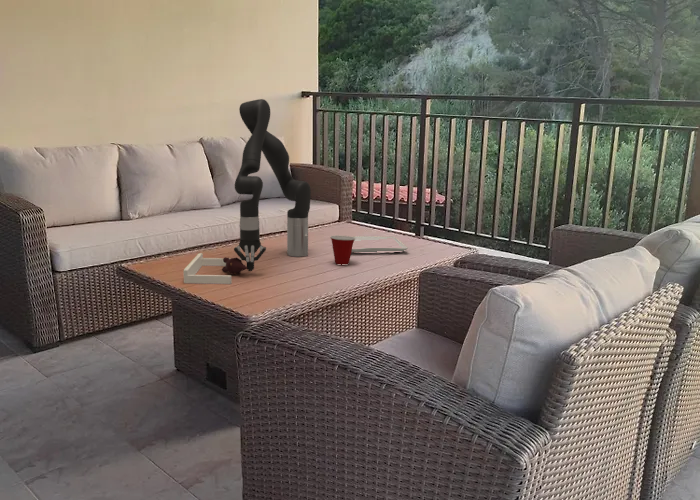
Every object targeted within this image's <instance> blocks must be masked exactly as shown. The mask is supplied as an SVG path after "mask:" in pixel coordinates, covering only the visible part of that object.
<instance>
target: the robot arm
mask: <svg viewBox="0 0 700 500" xmlns="http://www.w3.org/2000/svg"><path fill="white" fill-rule="evenodd" d="M239 115H240V118H241V119H242V122H243V124H244V125H245V126H246V128H247V129H248V131H249V132H250V133H251V135H250V137H249V138H248V140H247V142H246V144H245V146H243V152H242V158H241V166H240V169H239V172H238V173H237V176H236V179H235V180H234V190H235V192H236V193H237V194H239V195H247V196H248V195H252V197H251V198H250V199H246V200H242V201H241V202H240V203H239V213H240V214H239V217H240V218H239V243H238V245H237V246H235V247H234V248H233V251H234V252H235V254H236V255H237V256H238V258H239V259H241V260H242V261H244V262H246V267H247V268H248V269H246V270H247V271H248V272H253V271H254V269H255V262H257V261H258V260H259V259H260V258H261V257H262V256H263V254H264V253H265V252H266V250H267V247H266V246H264V245H262V243H261V241H260V218H259V216H260V215H259V207H260V206H259V204H260V199H261V194H262V192H263V191H262V190H263V187H264V182H263V179H262V178H261V177H260V176H255V175H254V176H253V175H251V174H256V173H258V172H259V171H260V169H261V160H262V159H261V158H262V154H263V156H264V158H265V160H266V161H267V163H268V165H269V166H270V168H271V170H272V172H273V173H274V175H275V177H276V180H277V182H278V185H279V187H280V189H281V192H282V194H283V195H284V197H285V198H286V199H287V200H288V201H292V202H295V204H294V207H293V208H290V209H288V210H287V213H286V216H287V217H286V218H287V219H286V220H287V221H286V227H287V229H286V230H287V232H286V233H287V234H286V235H287V237H286V238H287V239H286V245H287V246H286V248H287V249H286V254H287V255H288V256H290V257H296V258H299V257H308V255H309V214H310V211H311V210H310V209H311V193H312V192H311V186H310V184H309V182H307V181H303V180H297V179H294V177H293V176H292V174H291V172H290V169H289V165H290V155H289V153H288V151H287V148H286V147H285V145H284V143H283V142H282V141H281V140H280V139H279V138H278V137H277V136H275V135H273V134H272V133H270V132H269V131H268V127H269V125H270V124H269V123H270V119H271V107H270V104H269V102H268V101H267V100H266V99H264V98H259V99H255V100H254V99H253V100H249V101H244V102H243V103H241V104H240V105H239ZM258 250H259V253H258V254H257V255H256V256H255V254H256V253H257V251H258ZM242 251H243V252H242ZM244 254H245V255H244Z"/></svg>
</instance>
